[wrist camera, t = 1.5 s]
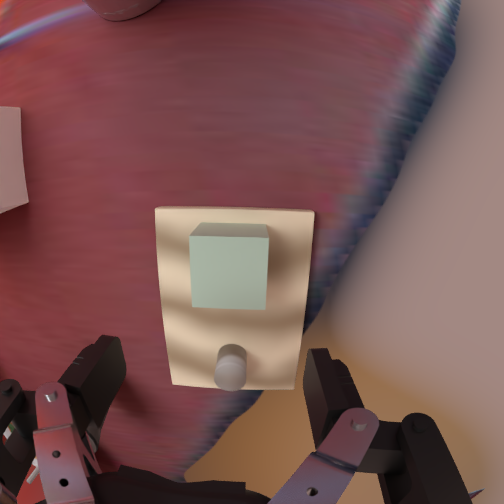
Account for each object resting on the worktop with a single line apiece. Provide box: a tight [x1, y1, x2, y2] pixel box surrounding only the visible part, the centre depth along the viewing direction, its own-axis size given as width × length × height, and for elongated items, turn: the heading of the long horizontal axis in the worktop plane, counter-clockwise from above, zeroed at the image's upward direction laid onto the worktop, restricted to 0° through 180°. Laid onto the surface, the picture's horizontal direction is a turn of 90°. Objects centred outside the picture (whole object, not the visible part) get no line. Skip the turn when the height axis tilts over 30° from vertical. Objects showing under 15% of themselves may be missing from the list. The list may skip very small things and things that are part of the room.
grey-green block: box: [189, 222, 269, 310], centre depth 23 cm, size 6×6×5 cm
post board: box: [155, 206, 314, 391], centre depth 26 cm, size 20×14×6 cm
